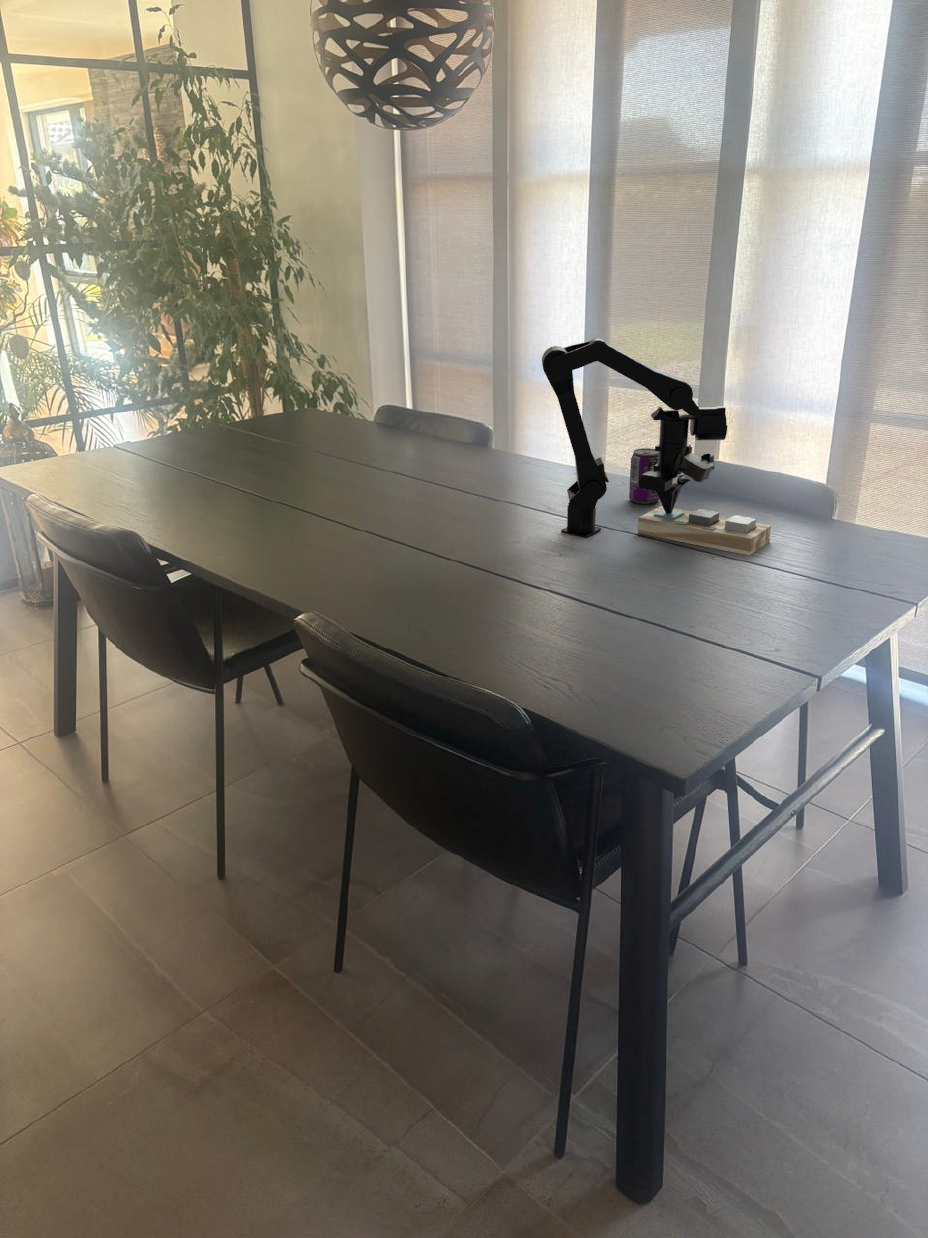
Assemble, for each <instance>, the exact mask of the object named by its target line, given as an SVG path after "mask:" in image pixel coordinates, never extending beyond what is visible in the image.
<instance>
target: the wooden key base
mask: <svg viewBox="0 0 928 1238" xmlns="http://www.w3.org/2000/svg"><path fill="white" fill-rule="evenodd" d="M663 509H664V508H663V506H662V505H660V506H659V507H656V508H655V509H653V510H651V511H648V512H646V513H645V514H643V515H640V516H639V517H638V519H637V521H638V523H637V525H638V526H637V534H641V535H645V536H650V537H656V538H660V539H665V540H670V541H675V542H682V543H685V544H691V545H695V546H701V547H704V548H705V547H706V548H711V549H715V550H721V551H726V552H731V553H737V554H740V555H745V556H751V555H752V554H754V553H755V552H757V551H758V550H760V549H762V548H763V547H764V546H766V545H767V544H769V542H770V541H771V530H772V525H769V524H764V523H757V522H756V528H755V529H754V530H752V531H751V532H749V533H748V534H746V533H740V532H735V531H729V530H725V521H726V520H727V519H729V518H730V517H724V516H719V522H717V523H716V524H714V525H712V526H710V527H709V526H703V525H697V524H692V523H688V522H689V514H690V513H692V512H693V511H690V510H685V509H679V508H675V507H674V508H673V510H675V511H680V512H684V515H683V516H681V517H679V518H678V519H676V520H670V519H665V518H659V517H654V514H655V513H657V512H659V511H661V510H663Z"/></svg>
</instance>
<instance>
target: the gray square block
mask: <svg viewBox="0 0 928 1238" xmlns="http://www.w3.org/2000/svg"><path fill="white" fill-rule="evenodd" d="M691 512H692V513H690V514H689V522H688V523H692V524H697V525H703V526H709V527H710V526H712V525H714V524H716V523H717V522H719V517H720V512H718V511H714V510H709V509H704V508H703V509H702V508H698V509H696V510H694V511H691Z"/></svg>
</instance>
